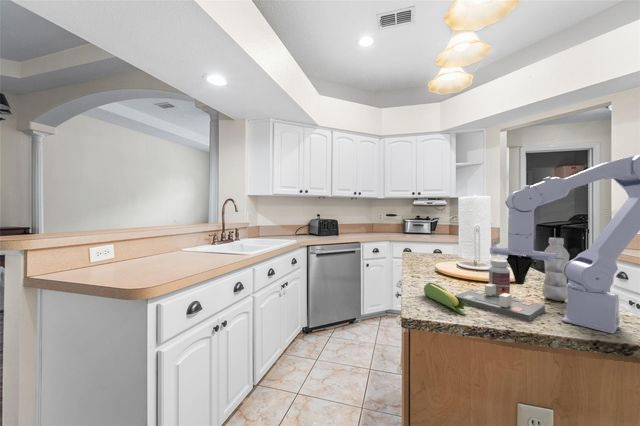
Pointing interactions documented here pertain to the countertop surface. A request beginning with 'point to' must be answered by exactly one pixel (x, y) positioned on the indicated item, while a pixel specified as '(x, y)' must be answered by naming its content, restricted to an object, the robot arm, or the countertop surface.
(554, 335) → the countertop surface
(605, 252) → the robot arm
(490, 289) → the block
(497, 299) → the breaker panel
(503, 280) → the pill bottle
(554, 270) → the plastic bottle
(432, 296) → the edible corn
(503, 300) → the block
